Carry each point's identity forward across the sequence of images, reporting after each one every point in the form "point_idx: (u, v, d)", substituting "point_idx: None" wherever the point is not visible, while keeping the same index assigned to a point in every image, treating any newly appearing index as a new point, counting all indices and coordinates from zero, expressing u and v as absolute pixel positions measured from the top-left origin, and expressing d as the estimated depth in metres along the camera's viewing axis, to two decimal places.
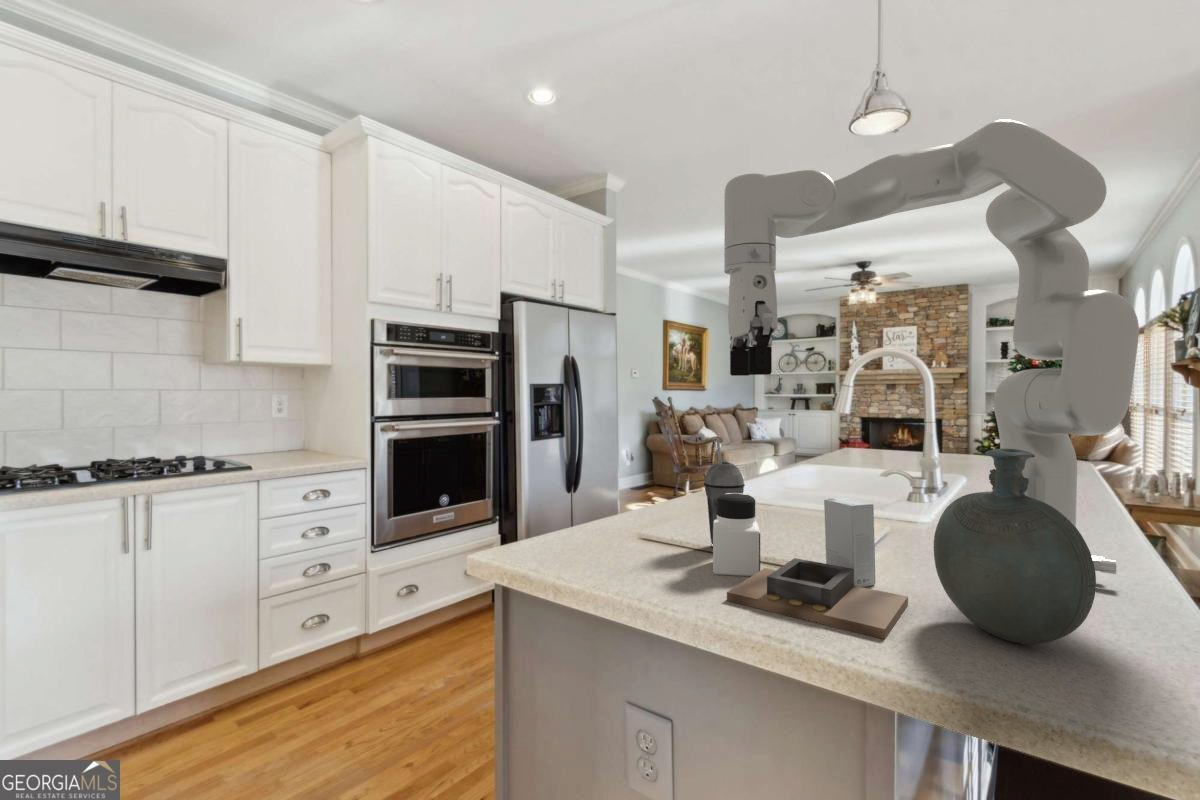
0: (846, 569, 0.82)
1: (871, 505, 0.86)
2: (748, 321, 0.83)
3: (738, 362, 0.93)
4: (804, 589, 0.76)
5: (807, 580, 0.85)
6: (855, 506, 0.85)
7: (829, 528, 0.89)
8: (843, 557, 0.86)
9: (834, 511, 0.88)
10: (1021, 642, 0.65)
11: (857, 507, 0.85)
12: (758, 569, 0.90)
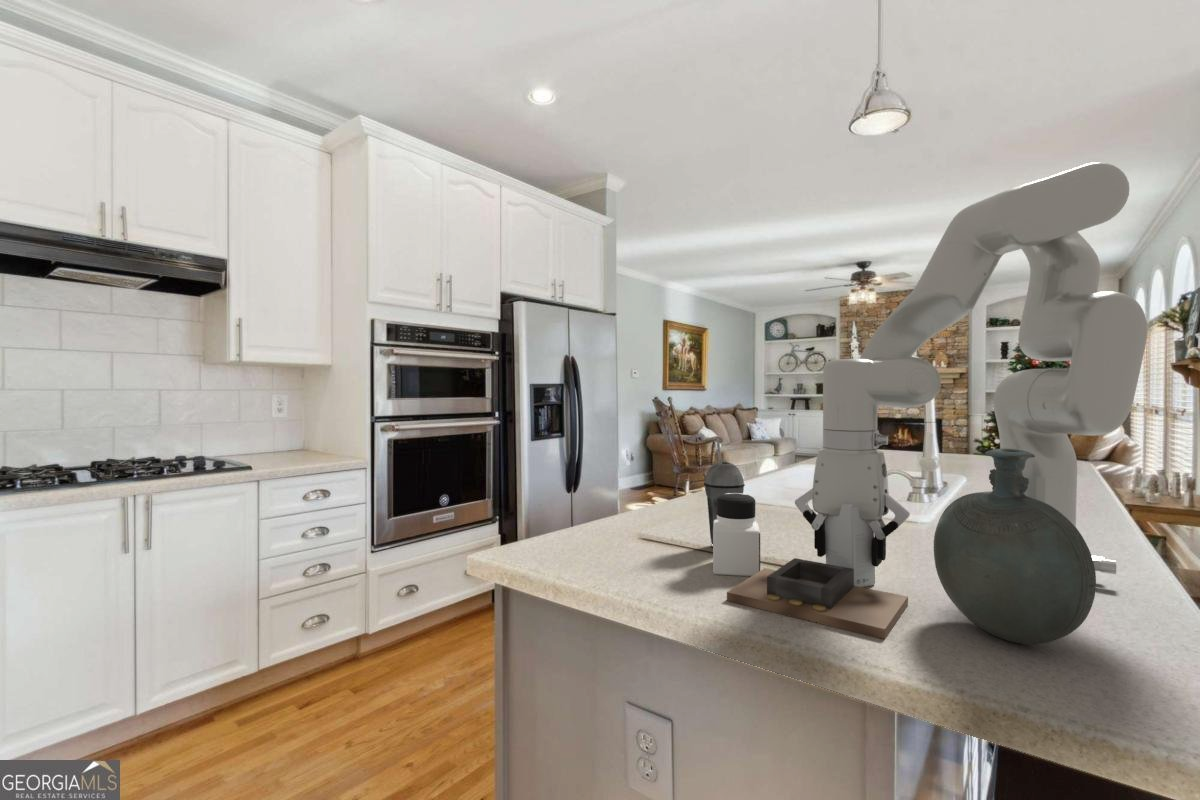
0: (846, 569, 0.82)
1: None
2: (882, 511, 0.83)
3: (824, 542, 0.90)
4: (804, 589, 0.76)
5: (807, 580, 0.85)
6: (855, 506, 0.85)
7: (828, 528, 0.89)
8: (842, 556, 0.86)
9: None
10: (1021, 642, 0.65)
11: (857, 507, 0.85)
12: (758, 569, 0.90)
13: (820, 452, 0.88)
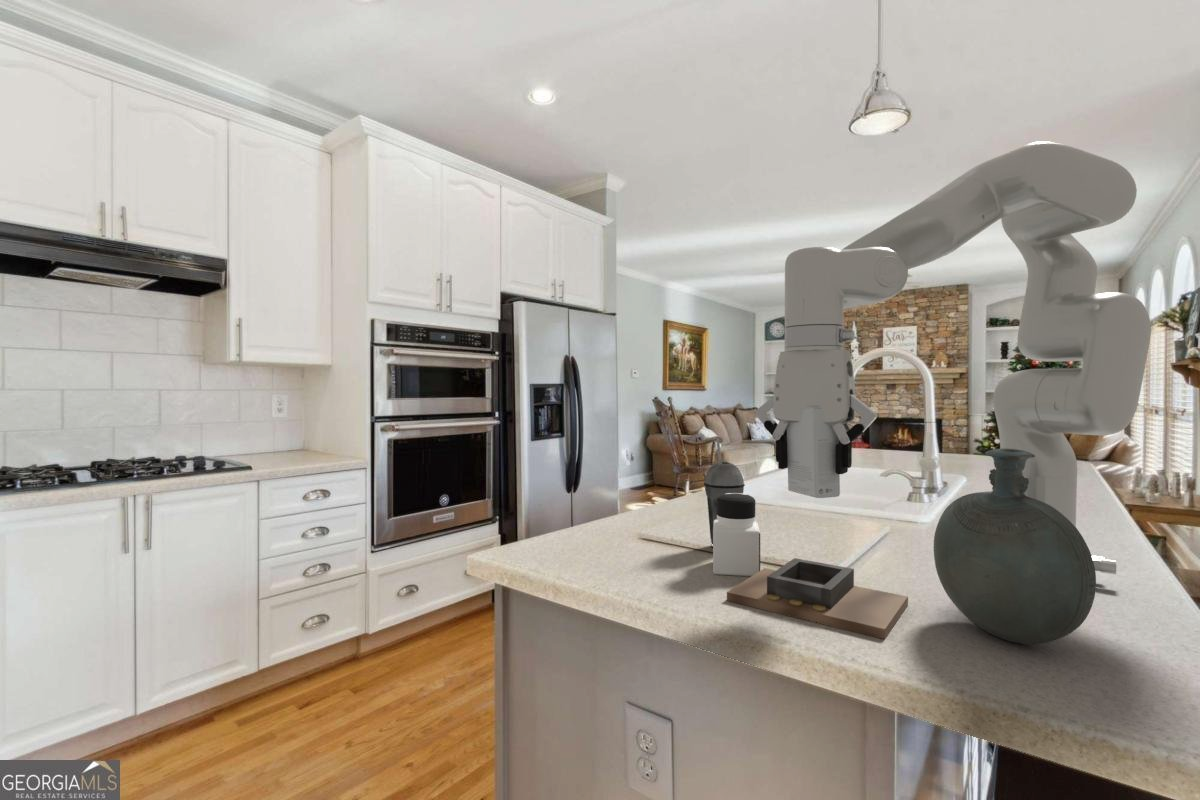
0: (846, 569, 0.82)
1: None
2: (846, 412, 0.76)
3: (786, 453, 0.82)
4: (804, 589, 0.76)
5: (807, 580, 0.85)
6: (817, 408, 0.77)
7: (791, 437, 0.81)
8: (804, 465, 0.79)
9: None
10: (1021, 642, 0.65)
11: (820, 409, 0.77)
12: (758, 569, 0.90)
13: (781, 353, 0.81)
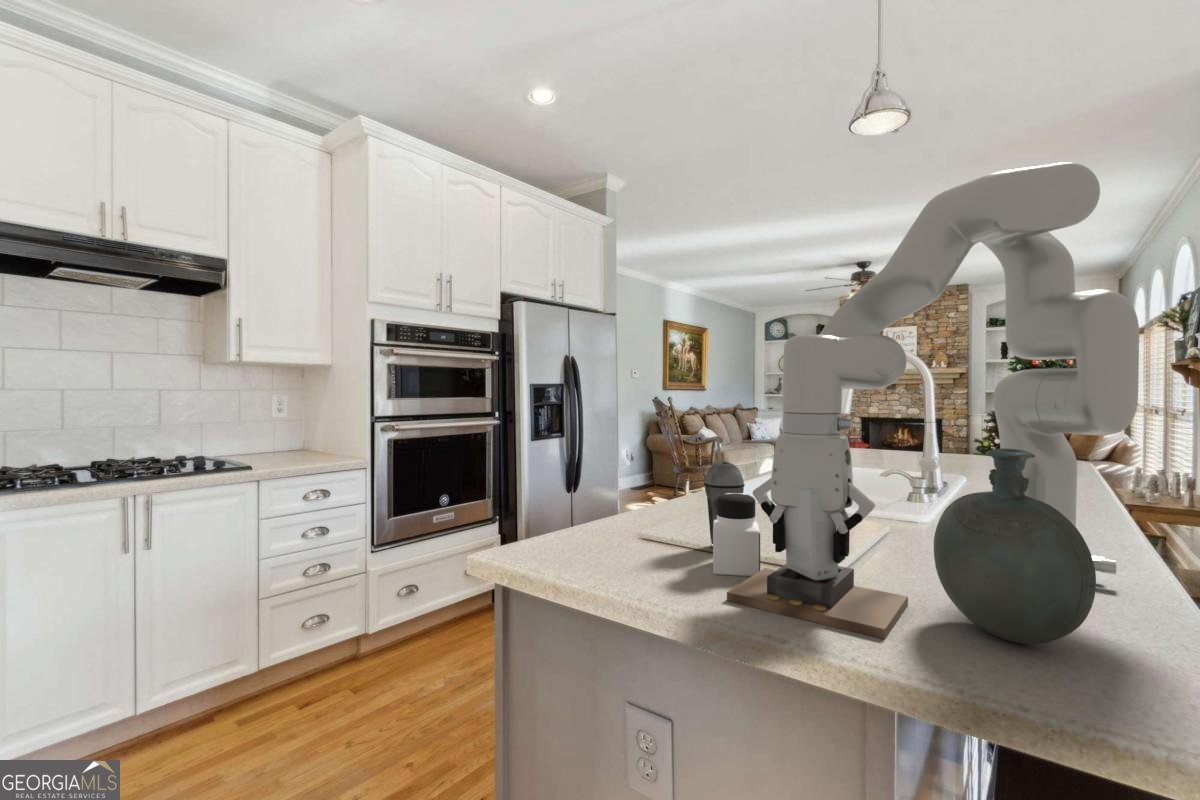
0: (846, 569, 0.82)
1: None
2: (844, 502, 0.76)
3: (783, 536, 0.82)
4: (804, 589, 0.76)
5: (807, 580, 0.85)
6: (814, 491, 0.77)
7: (788, 515, 0.81)
8: (802, 547, 0.79)
9: None
10: (1021, 642, 0.65)
11: (817, 492, 0.77)
12: (758, 569, 0.90)
13: (779, 437, 0.80)
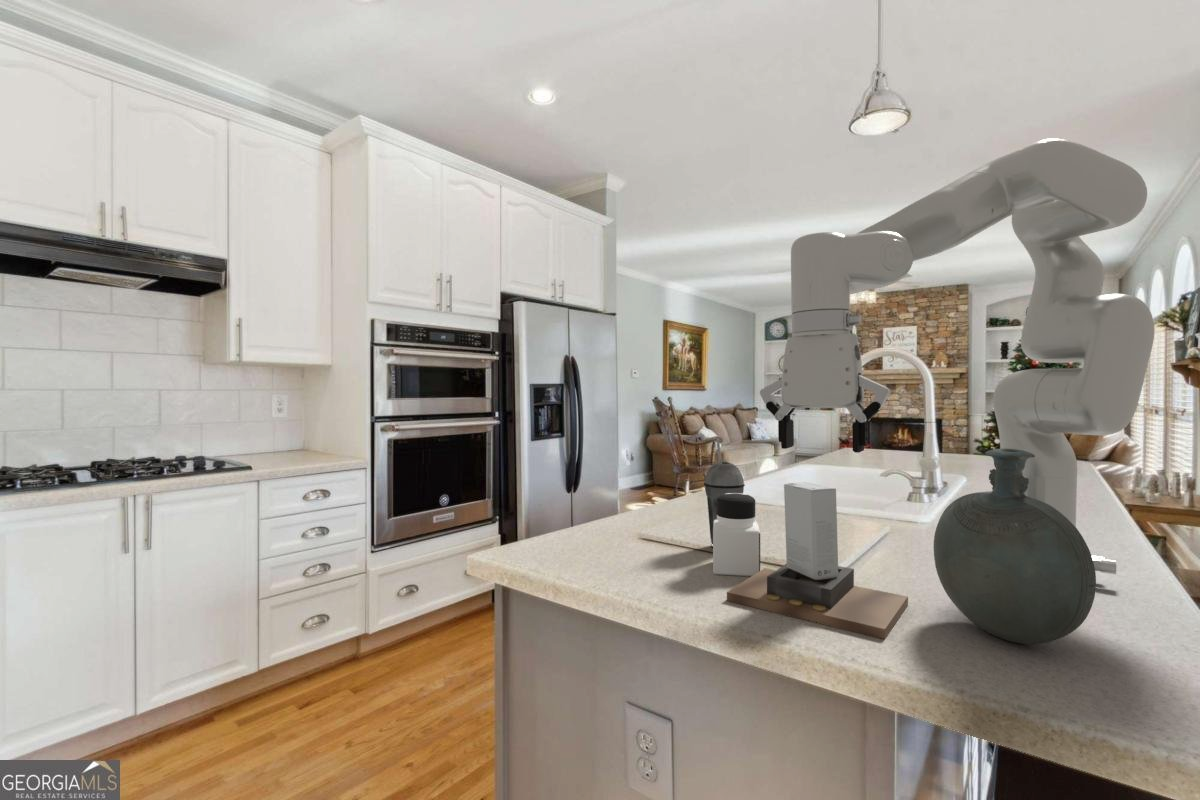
0: (846, 569, 0.82)
1: (833, 489, 0.78)
2: (855, 395, 0.77)
3: (788, 433, 0.84)
4: (804, 589, 0.76)
5: (807, 580, 0.85)
6: (815, 490, 0.77)
7: (789, 515, 0.81)
8: (803, 546, 0.79)
9: (794, 496, 0.80)
10: (1021, 642, 0.65)
11: (818, 491, 0.77)
12: (758, 569, 0.90)
13: (789, 339, 0.81)
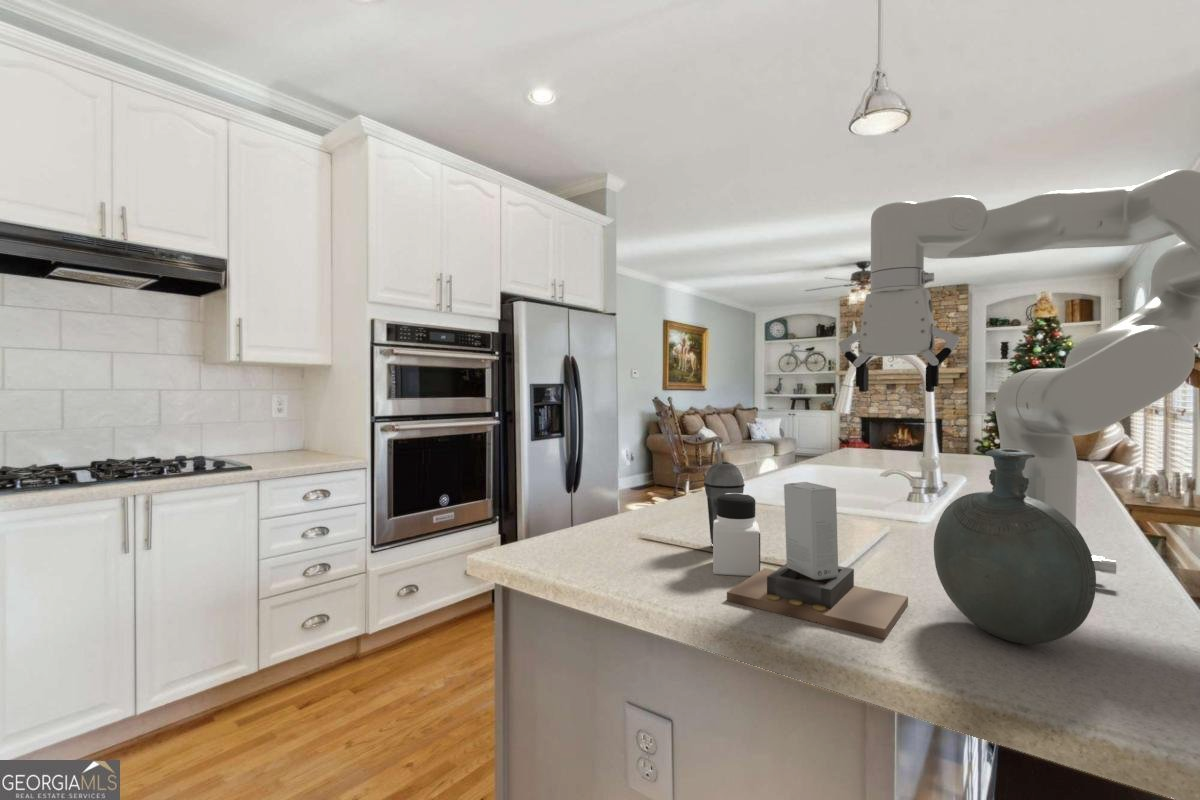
0: (846, 569, 0.82)
1: (833, 489, 0.78)
2: (929, 342, 0.89)
3: (865, 379, 0.96)
4: (804, 589, 0.76)
5: (807, 580, 0.85)
6: (815, 490, 0.77)
7: (789, 515, 0.81)
8: (803, 546, 0.79)
9: (794, 496, 0.80)
10: (1021, 642, 0.65)
11: (818, 491, 0.77)
12: (758, 569, 0.90)
13: (868, 295, 0.94)
